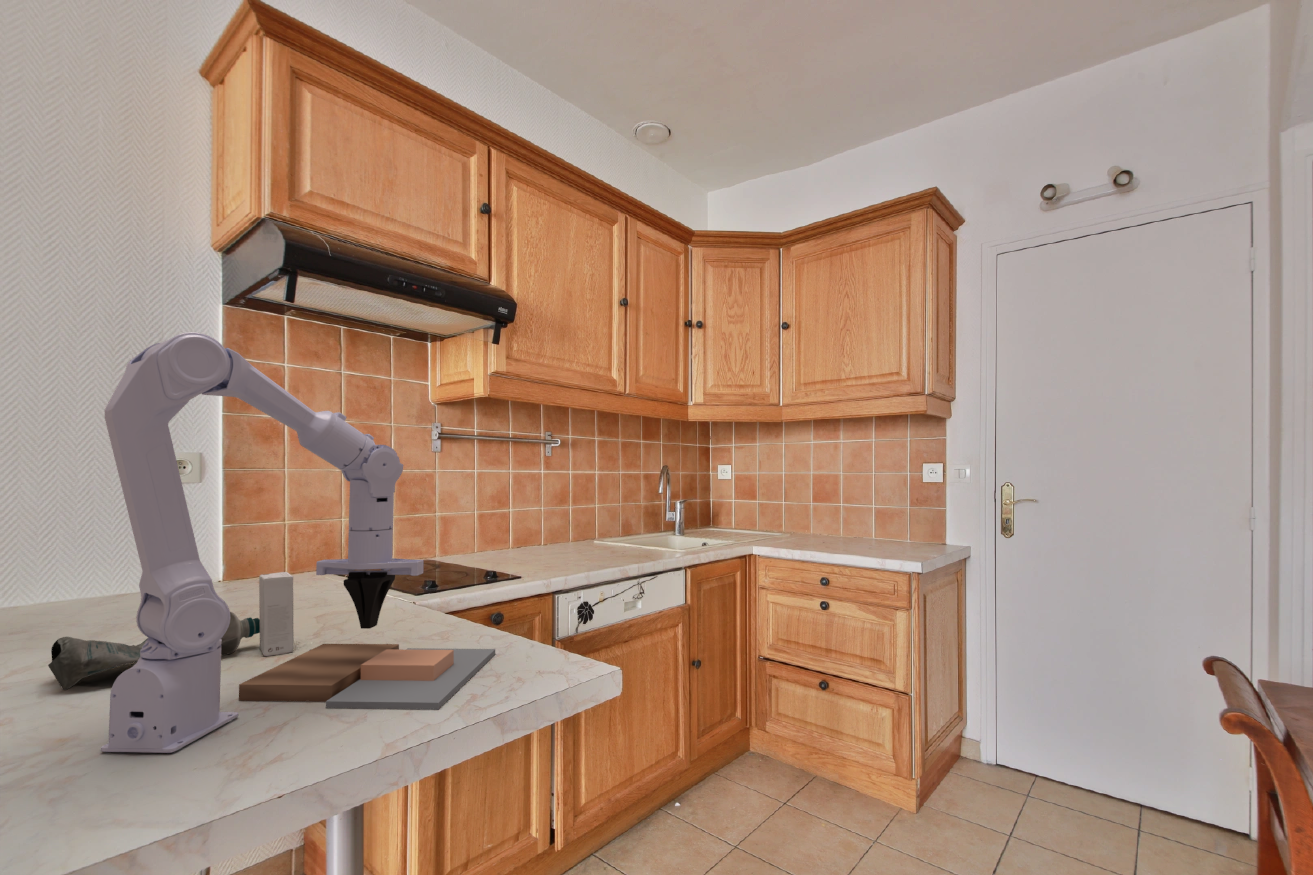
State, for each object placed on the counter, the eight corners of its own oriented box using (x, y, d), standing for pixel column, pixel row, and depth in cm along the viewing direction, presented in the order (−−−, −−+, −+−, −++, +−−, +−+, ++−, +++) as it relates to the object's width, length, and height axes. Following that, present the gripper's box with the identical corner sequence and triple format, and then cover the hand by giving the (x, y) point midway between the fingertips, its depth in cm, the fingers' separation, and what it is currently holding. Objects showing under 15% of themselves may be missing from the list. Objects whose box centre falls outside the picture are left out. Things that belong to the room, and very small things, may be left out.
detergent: (50, 701, 77) (274, 652, 96) (50, 644, 78) (273, 605, 96) (41, 686, 86) (249, 643, 104) (42, 634, 86) (248, 601, 105)
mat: (438, 709, 74) (438, 702, 74) (325, 707, 74) (325, 701, 74) (495, 654, 96) (495, 648, 96) (407, 653, 96) (407, 648, 96)
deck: (331, 701, 76) (331, 685, 76) (238, 700, 77) (239, 684, 77) (398, 657, 94) (398, 644, 94) (323, 656, 95) (323, 643, 95)
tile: (433, 680, 81) (433, 665, 81) (360, 679, 82) (360, 664, 82) (453, 663, 88) (453, 649, 88) (386, 663, 89) (386, 649, 89)
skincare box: (294, 652, 97) (296, 575, 98) (261, 657, 95) (263, 578, 95) (288, 643, 102) (290, 570, 103) (256, 648, 99) (258, 573, 100)
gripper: (433, 526, 90) (431, 620, 89) (337, 526, 91) (335, 619, 90) (411, 531, 83) (409, 632, 82) (308, 531, 84) (305, 631, 83)
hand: (368, 626), depth 86 cm, fingers closed
